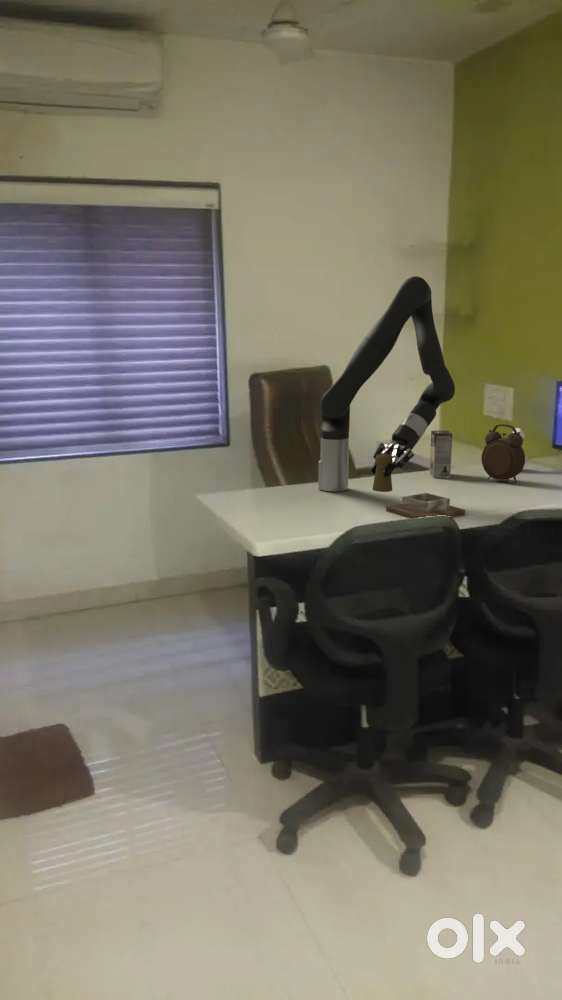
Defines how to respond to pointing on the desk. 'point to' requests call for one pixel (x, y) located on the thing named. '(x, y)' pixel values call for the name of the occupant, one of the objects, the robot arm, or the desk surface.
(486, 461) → the alarm clock
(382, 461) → the cork
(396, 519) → the desk surface
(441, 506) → the mount board
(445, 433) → the coffee box
